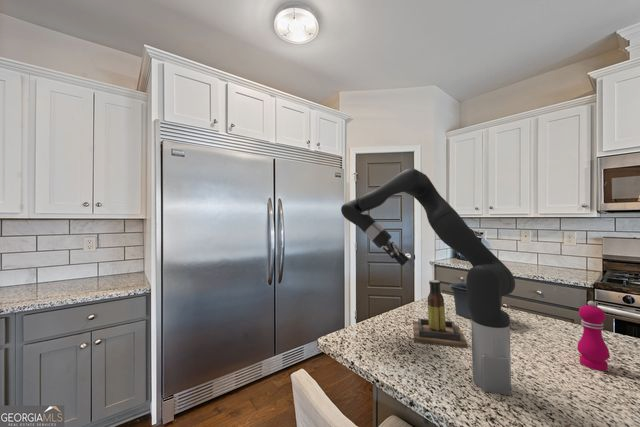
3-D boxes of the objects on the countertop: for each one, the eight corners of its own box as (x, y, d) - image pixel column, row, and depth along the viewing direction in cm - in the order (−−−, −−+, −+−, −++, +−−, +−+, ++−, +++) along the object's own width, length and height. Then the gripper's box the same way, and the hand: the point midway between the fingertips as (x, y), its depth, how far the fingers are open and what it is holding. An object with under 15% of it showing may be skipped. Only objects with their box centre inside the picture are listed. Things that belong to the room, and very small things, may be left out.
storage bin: (447, 313, 135) (446, 284, 135) (467, 308, 142) (466, 280, 143) (491, 328, 116) (490, 294, 116) (512, 321, 124) (511, 289, 124)
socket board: (467, 348, 99) (467, 338, 99) (414, 341, 105) (413, 332, 105) (458, 328, 116) (458, 320, 116) (413, 324, 122) (413, 316, 122)
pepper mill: (599, 373, 82) (597, 305, 83) (571, 361, 89) (570, 298, 90) (616, 369, 84) (614, 303, 85) (587, 358, 91) (585, 296, 92)
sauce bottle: (442, 328, 113) (441, 279, 114) (448, 334, 107) (447, 282, 108) (426, 327, 114) (425, 279, 115) (430, 333, 108) (429, 282, 108)
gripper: (380, 229, 113) (410, 258, 108) (387, 228, 126) (414, 254, 121) (367, 242, 115) (396, 271, 110) (375, 239, 128) (401, 266, 123)
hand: (405, 262), depth 116 cm, fingers open, 8 cm apart
